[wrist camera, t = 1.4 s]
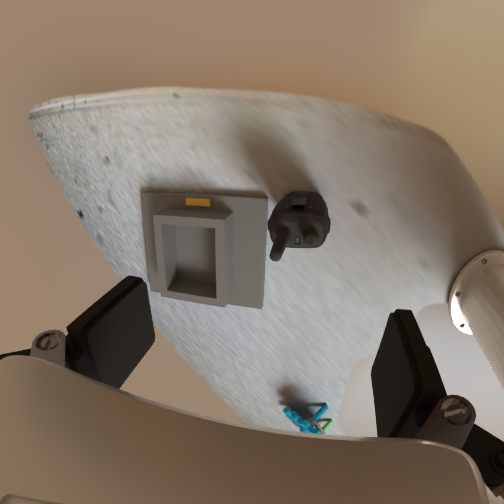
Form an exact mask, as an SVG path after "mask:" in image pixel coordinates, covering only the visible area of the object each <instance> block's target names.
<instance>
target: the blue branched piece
mask: <svg viewBox="0 0 504 504" xmlns="http://www.w3.org/2000/svg"><path fill="white" fill-rule="evenodd" d="M327 409H328V407H327V406H326V405H323V406H322V407H321V408H320V409H319V410H318V411H317V412H316V413H315V415H314V416H313V417H309V418H308V419H307V420H306V419H305V420H303V419H301V418H300V415H299V414H298V413H296V412H295V411H294V412H293V411H292V410H291V409H290V408H288V407H286V408H285V409H284V410H283V412H284V413H285V414H286V416H287V417H288V418H289V419H290V420H292V422H293V423H294V424H295V425H296V426H298V427H299V428H301V429H300V431H301V432H303V433H313V434H325V432H324V431H325V430H326V429H327V428H328V427H329V425H330V424H331V423H332V422H333V421H332V420H329V421H328V422H327V423H326V424H325V425H324V426H323V427H322V428H321V427H320V425H319V424H318V423H317V422H316V421H317V420H318V419H319V418H320V417H321V416H322V415H323V413H324V412H325V411H326V410H327ZM314 426H315V428H316V429H315V428H313V427H314Z"/></svg>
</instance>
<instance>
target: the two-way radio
mask: <svg viewBox="0 0 504 504" xmlns="http://www.w3.org/2000/svg"><path fill="white" fill-rule="evenodd" d="M268 230H269V232H270V237H271V240H272V242H273V246H272V249H271V252H270V259H271V260H272V261H279V260H280V259H281V256H282V254H283V252H284V250H285V247H289V248H317V247H319V246H321V245H322V244H323V243H324V241H325V239H326V237H327V234H328V233H329V231H330V218H329V216H328V209H327V206H326V203H325V201H324V200H323V198H322V197H321V196H320V195H319V194H317V193H314V192H292V193H289V194H287V195H286V196H285V197H284V198H283V199H282V200H281V201H280V202H279V203H278V204H277V205H276V206H275V208H274V210H273V212H272V215H271V217H270V219H269V221H268Z"/></svg>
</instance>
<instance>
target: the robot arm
mask: <svg viewBox="0 0 504 504" xmlns="http://www.w3.org/2000/svg"><path fill="white" fill-rule="evenodd" d="M448 308H449V315H450V317H451V320H452V321H453V323H454V325H455V326H456V327H457V329H459V330H460V331H462V332H463V333H467V334H473V335H474V337H475V338H476V340H477V342H478V344H479V345H480V347H481V349H482V351H483V352H484V354H485V356H486V358H487V359H488V361H489V363H490V365H491V367H492V369H493V371H494V373H495V375H496V377H497V379H498V381H499V383H500V385H501V387H502V389H503V391H504V252H503V251H500V250H489V251H486V252H483V253H481V254H479V255H477V256H476V257H474V258H473V259H472V260H471V261H469V262H468V263H467V264H466V266H465V267H464V268H463V269H462V270H461V272H460V273H459V275H458V276H457V278H456V280H455V282H454V284H453V286H452V289H451V292H450V296H449V305H448ZM67 331H68V335H67V336H65V334H64V333H63V332H61V331H60V330H48V331H44V332H42V333H40V334H39V335H38V336H36V338H35V339H34V340H33V343H32V347H31V349H27V350H22V351H17V352H12V353H6V354H2V355H0V504H504V442H503V441H501V440H500V439H498V438H497V437H495V436H493V435H492V434H490V433H489V432H487V431H485V430H484V429H482V428H481V427H479V426H477V425H476V424H474V422H475V418H476V412H475V409H474V407H473V405H472V404H471V403H470V402H469V401H468V400H467V399H465V398H464V397H461V396H459V395H447V394H446V391H445V388H444V385H443V382H442V379H441V377H440V374H439V371H438V368H437V366H436V363H435V361H434V358H433V355H432V353H431V351H430V348H429V347H428V346H426V343H425V341H424V338H423V336H422V334H421V331H420V329H419V327H418V324H417V322H416V319H415V317H414V315H413V313H412V311H411V310H404V309H396V310H395V312H394V313H390V315H389V318H388V321H387V325H386V328H385V331H384V334H383V337H382V340H381V343H380V346H379V349H378V352H377V355H376V358H375V361H374V364H373V366H372V370H371V379H372V388H373V396H374V404H375V414H376V424H377V435H378V437H355V436H338V435H325V434H313V433H303V432H294V431H286V430H279V429H272V428H265V427H259V426H254V425H248V424H243V423H237V422H232V421H227V420H223V419H218V418H213V417H210V416H205V415H201V414H197V413H193V412H189V411H186V410H182V409H178V408H175V407H171V406H168V405H165V404H162V403H158V402H155V401H152V400H149V399H146V398H143V397H140V396H136V395H134V394H131V393H128V392H125V391H123V390H120V389H119V388H120V387H121V386H122V384H123V383H124V382H125V380H126V379H127V377H128V376H129V375H130V374H131V372H132V371H133V370H134V368H135V367H136V366H137V364H138V363H139V362H140V361H141V359H142V358H143V357H144V355H145V354H146V353H147V351H148V350H149V349H150V347H151V346H152V345H153V343H154V341H155V332H154V327H153V321H152V315H151V309H150V303H149V297H148V290H147V284H146V283H145V282H144V281H143V279H142V278H140V277H135V276H127V277H126V278H124V279H123V280H122V281H121V282H120V283H118V284H117V285H116V286H115V287H113V288H112V289H111V290H110V291H108V292H107V293H106V294H105V295H104V296H102V298H100V299H99V300H98V301H96V302H95V303H94V304H93V305H92V306H90V307H89V308H88V309H87V310H86V311H85V312H83V313H82V314H81V315H80V316H79V317H77V318H76V319H75V320H74V321H73V322H72V323H71V324H70V325H68V326H67Z"/></svg>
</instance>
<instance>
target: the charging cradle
mask: <svg viewBox="0 0 504 504" xmlns="http://www.w3.org/2000/svg"><path fill="white" fill-rule="evenodd" d="M141 195H142V211H143V224H144V235H145V245H146V255H147V264H148V272H149V280H150V287H151V291H154V292H159V293H161V296H162V297H168V298H173V299H179V300H184V301H190V302H196V303H201V304H207V305H214V306H220V307H226V305H227V304H231V305H238V306H244V307H251V308H259V309H262V306H263V296H264V277H265V257H266V237H267V215H268V198H267V197H253V196H238V195H221V194H201V193H176V192H143V193H141Z"/></svg>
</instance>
